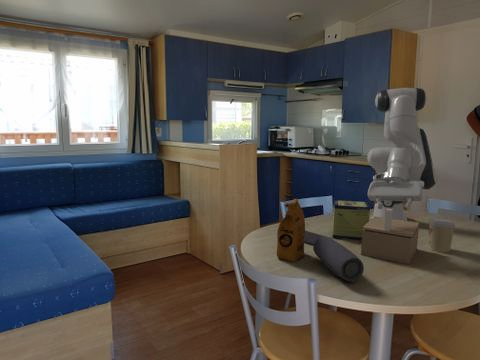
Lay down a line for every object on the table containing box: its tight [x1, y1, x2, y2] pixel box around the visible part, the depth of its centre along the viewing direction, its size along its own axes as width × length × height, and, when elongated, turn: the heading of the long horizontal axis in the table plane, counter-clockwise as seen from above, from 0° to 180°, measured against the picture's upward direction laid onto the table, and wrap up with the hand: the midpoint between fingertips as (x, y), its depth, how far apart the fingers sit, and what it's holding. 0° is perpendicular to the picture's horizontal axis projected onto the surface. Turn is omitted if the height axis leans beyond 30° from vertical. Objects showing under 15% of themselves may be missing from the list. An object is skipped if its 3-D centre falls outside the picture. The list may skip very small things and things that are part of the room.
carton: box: [360, 225, 420, 265], centre depth 156 cm, size 20×18×10 cm
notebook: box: [304, 230, 333, 247], centre depth 174 cm, size 13×2×21 cm
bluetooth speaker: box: [312, 235, 365, 282], centre depth 136 cm, size 23×9×10 cm, turn 12°
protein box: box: [331, 200, 371, 241], centre depth 176 cm, size 10×16×16 cm
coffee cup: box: [428, 218, 456, 254], centre depth 160 cm, size 9×9×12 cm
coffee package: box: [276, 198, 306, 262], centre depth 149 cm, size 10×12×22 cm
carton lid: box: [363, 208, 420, 237], centre depth 155 cm, size 20×18×9 cm
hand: (392, 208), depth 148 cm, fingers open, 8 cm apart
